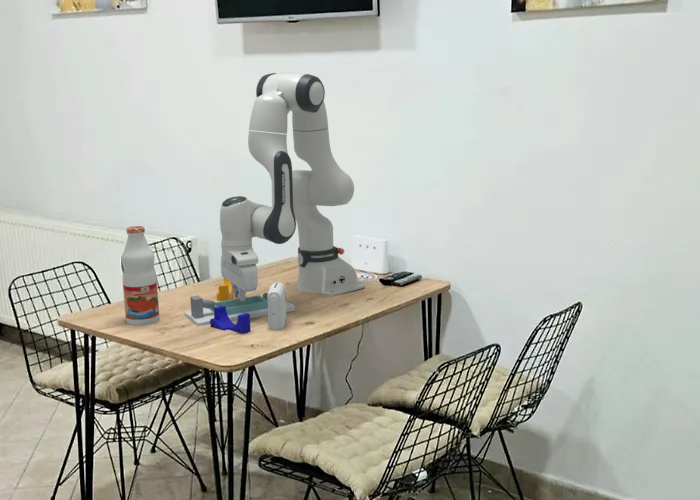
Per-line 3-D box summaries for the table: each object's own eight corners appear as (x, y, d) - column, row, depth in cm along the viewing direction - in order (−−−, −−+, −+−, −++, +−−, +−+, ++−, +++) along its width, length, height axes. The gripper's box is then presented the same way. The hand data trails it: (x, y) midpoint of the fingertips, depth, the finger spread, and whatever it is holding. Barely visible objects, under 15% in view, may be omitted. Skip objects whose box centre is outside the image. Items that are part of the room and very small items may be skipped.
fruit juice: (155, 315, 248) (148, 222, 241) (163, 325, 239) (156, 228, 233) (123, 320, 244) (115, 226, 237) (129, 330, 236) (121, 232, 229)
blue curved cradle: (210, 329, 236) (209, 309, 234) (223, 325, 239) (222, 305, 238) (237, 339, 228) (236, 317, 226) (250, 334, 231) (249, 313, 229)
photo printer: (282, 332, 232) (281, 289, 229) (267, 332, 232) (265, 289, 229) (287, 320, 242) (286, 278, 239) (272, 320, 242) (271, 278, 239)
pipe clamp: (220, 295, 268) (219, 275, 266) (233, 294, 268) (232, 275, 266) (214, 306, 256) (212, 286, 255) (228, 306, 256) (227, 286, 254)
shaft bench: (278, 300, 260) (277, 278, 259) (294, 310, 250) (294, 287, 248) (184, 316, 246) (183, 293, 245) (198, 328, 236) (196, 304, 234)
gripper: (214, 247, 251) (217, 291, 255) (239, 262, 234) (242, 309, 237) (234, 244, 254) (236, 288, 257) (260, 259, 237) (262, 305, 240)
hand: (239, 298), depth 247 cm, fingers closed
